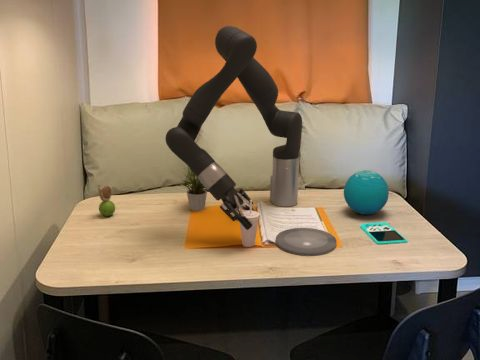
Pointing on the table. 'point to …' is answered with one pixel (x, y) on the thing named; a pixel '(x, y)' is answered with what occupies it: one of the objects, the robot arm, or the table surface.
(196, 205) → the house plant
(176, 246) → the table surface
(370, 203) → the decorative orb
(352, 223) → the table surface
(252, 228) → the smoothie
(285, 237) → the dish
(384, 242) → the handheld game console
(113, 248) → the table surface
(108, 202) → the snail figurine
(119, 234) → the table surface
